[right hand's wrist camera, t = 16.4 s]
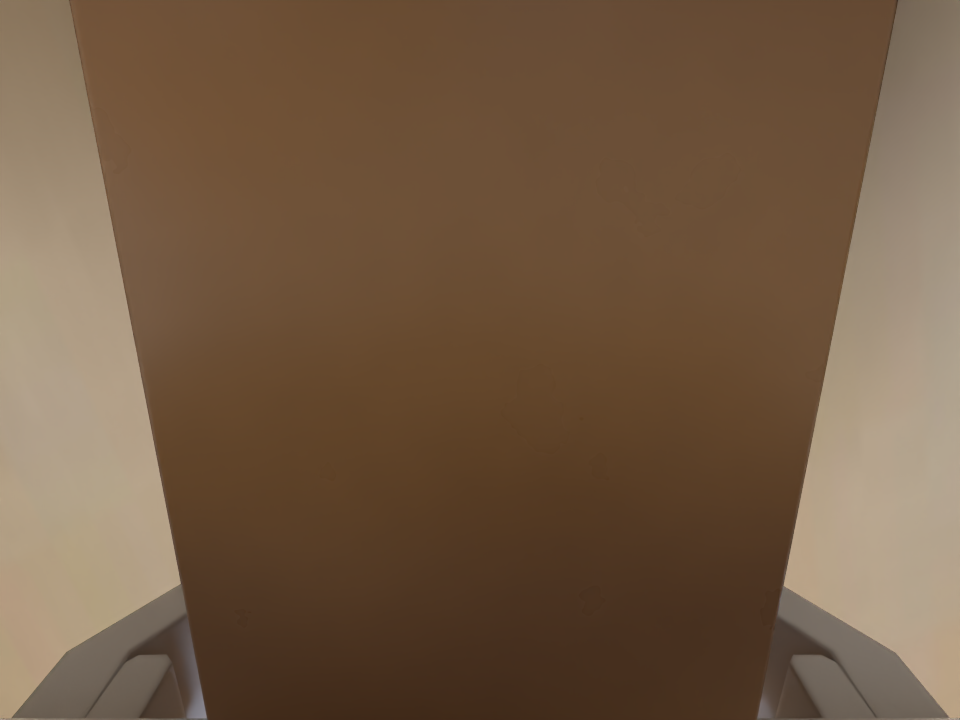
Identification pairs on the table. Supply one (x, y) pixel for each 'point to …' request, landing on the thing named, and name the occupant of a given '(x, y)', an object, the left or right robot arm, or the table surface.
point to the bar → (482, 335)
